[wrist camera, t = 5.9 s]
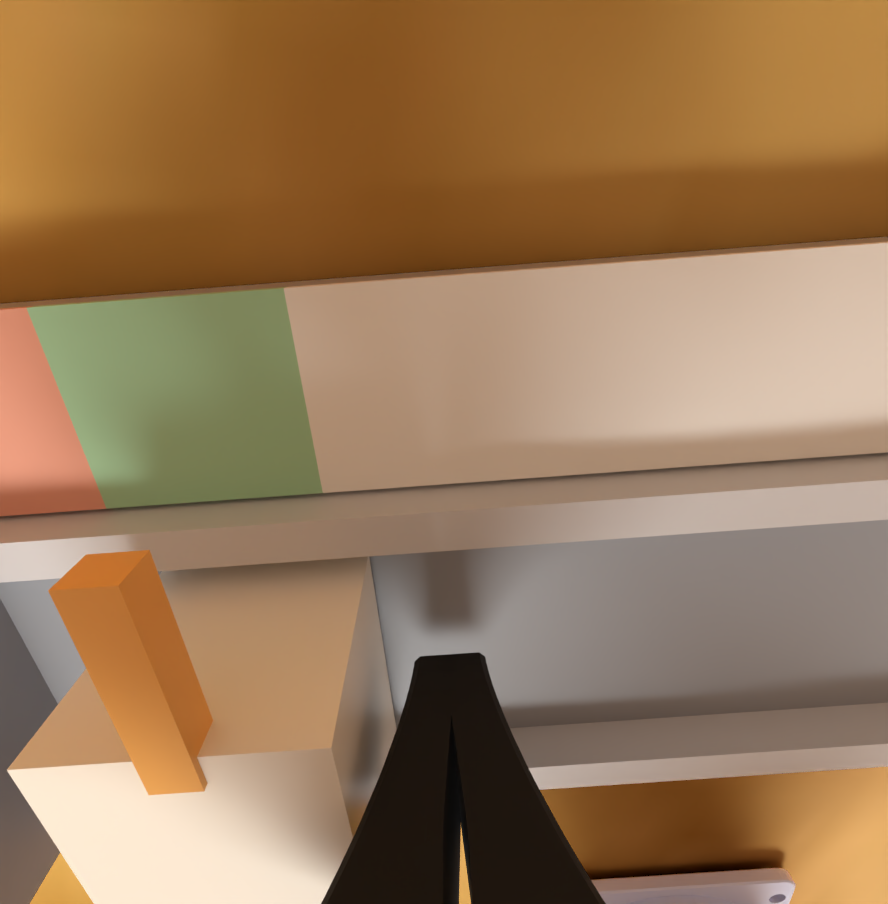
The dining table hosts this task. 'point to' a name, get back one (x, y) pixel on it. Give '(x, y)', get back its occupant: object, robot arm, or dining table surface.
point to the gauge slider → (212, 729)
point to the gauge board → (492, 492)
